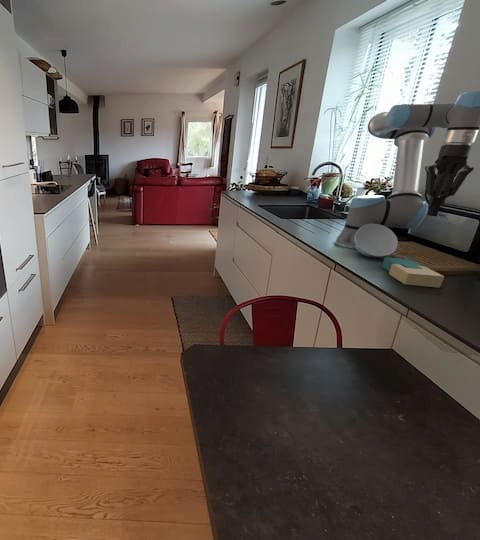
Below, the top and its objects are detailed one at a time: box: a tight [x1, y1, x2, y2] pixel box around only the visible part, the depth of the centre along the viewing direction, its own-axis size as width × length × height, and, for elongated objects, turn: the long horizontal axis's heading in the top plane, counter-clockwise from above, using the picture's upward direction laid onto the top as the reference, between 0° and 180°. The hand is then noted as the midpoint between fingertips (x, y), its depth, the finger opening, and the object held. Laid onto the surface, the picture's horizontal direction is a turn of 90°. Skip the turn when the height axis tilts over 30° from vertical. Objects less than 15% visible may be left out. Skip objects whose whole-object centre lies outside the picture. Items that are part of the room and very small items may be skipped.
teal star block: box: [381, 256, 422, 273], centre depth 117 cm, size 11×8×4 cm
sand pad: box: [388, 264, 445, 289], centre depth 110 cm, size 10×10×4 cm
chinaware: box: [354, 224, 399, 259], centre depth 136 cm, size 15×15×8 cm
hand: (431, 215), depth 115 cm, fingers closed
